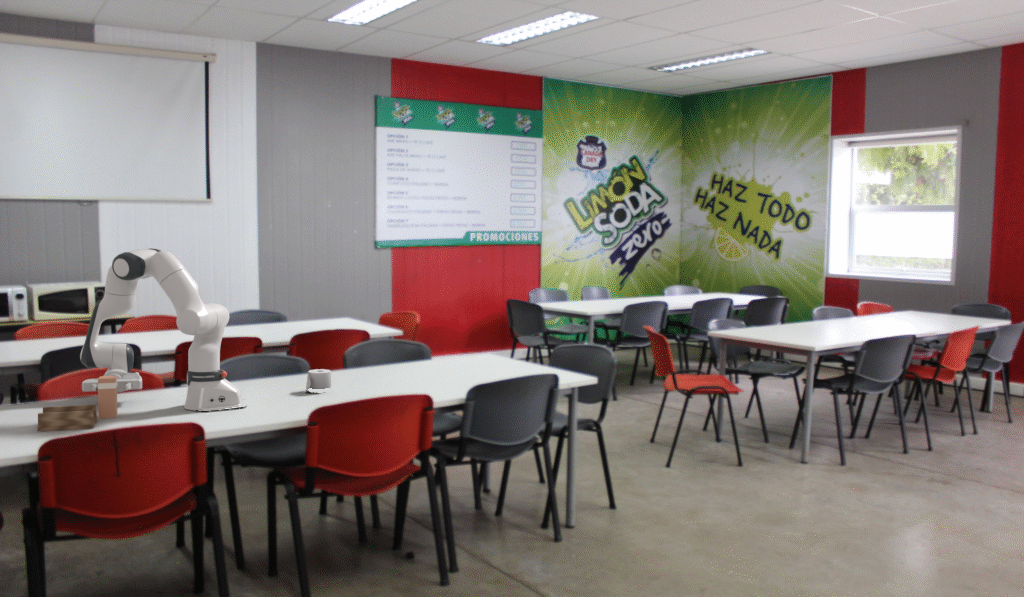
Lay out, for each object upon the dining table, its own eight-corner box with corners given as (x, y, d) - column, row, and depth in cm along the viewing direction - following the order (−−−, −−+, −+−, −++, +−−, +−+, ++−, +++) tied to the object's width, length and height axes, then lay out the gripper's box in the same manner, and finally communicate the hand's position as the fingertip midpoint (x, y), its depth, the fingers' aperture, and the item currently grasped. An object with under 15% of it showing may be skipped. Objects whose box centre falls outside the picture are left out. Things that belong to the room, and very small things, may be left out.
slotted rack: (96, 420, 274) (96, 403, 273) (92, 428, 263) (92, 411, 262) (44, 423, 268) (43, 406, 267) (37, 431, 257) (37, 414, 256)
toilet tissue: (301, 394, 324) (302, 374, 323) (312, 388, 337) (313, 368, 336) (323, 395, 323) (323, 375, 322) (333, 389, 336) (333, 369, 335)
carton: (117, 414, 283) (116, 375, 282) (116, 417, 278) (115, 378, 277) (100, 415, 281) (99, 376, 280) (98, 418, 276) (97, 379, 275)
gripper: (83, 374, 297) (78, 381, 284) (143, 372, 305) (140, 378, 292) (84, 390, 298) (79, 398, 285) (143, 388, 305) (141, 395, 292)
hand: (110, 388), depth 288 cm, fingers open, 8 cm apart
